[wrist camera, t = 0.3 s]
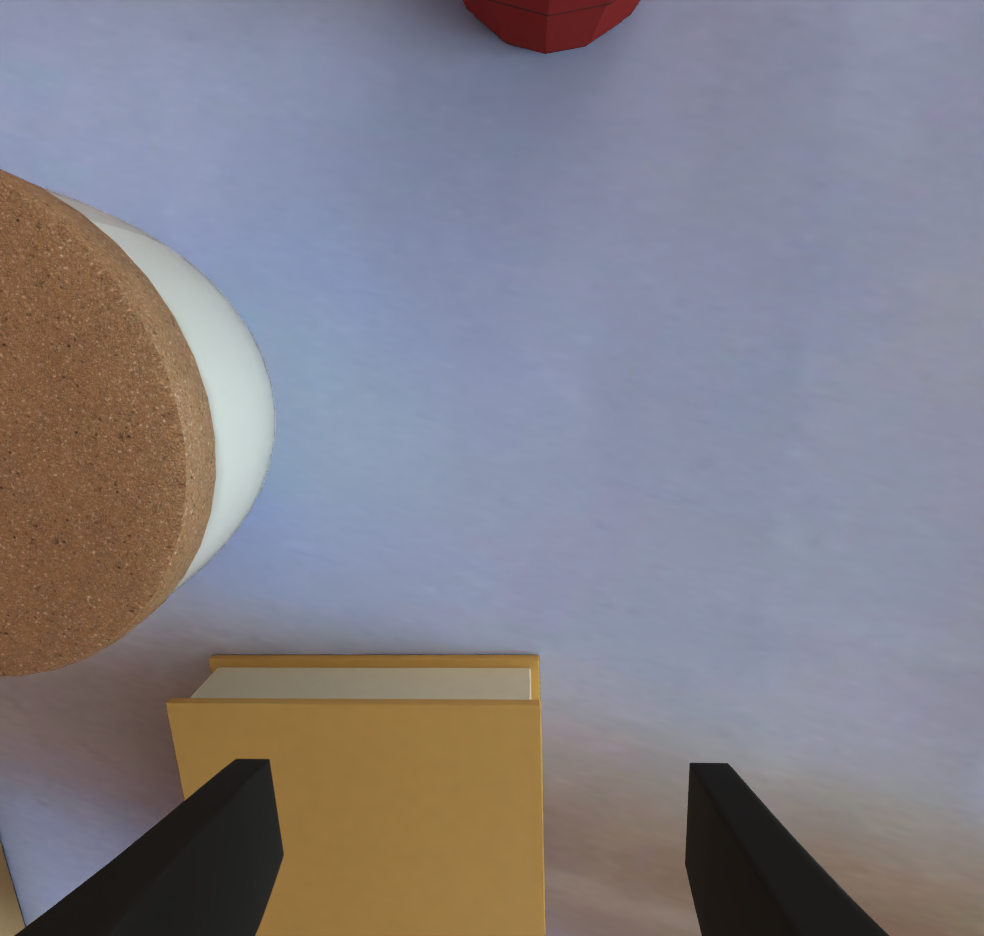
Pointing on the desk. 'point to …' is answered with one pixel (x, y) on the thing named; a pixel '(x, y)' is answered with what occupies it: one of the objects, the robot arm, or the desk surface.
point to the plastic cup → (550, 21)
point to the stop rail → (8, 902)
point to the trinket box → (113, 426)
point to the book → (385, 787)
